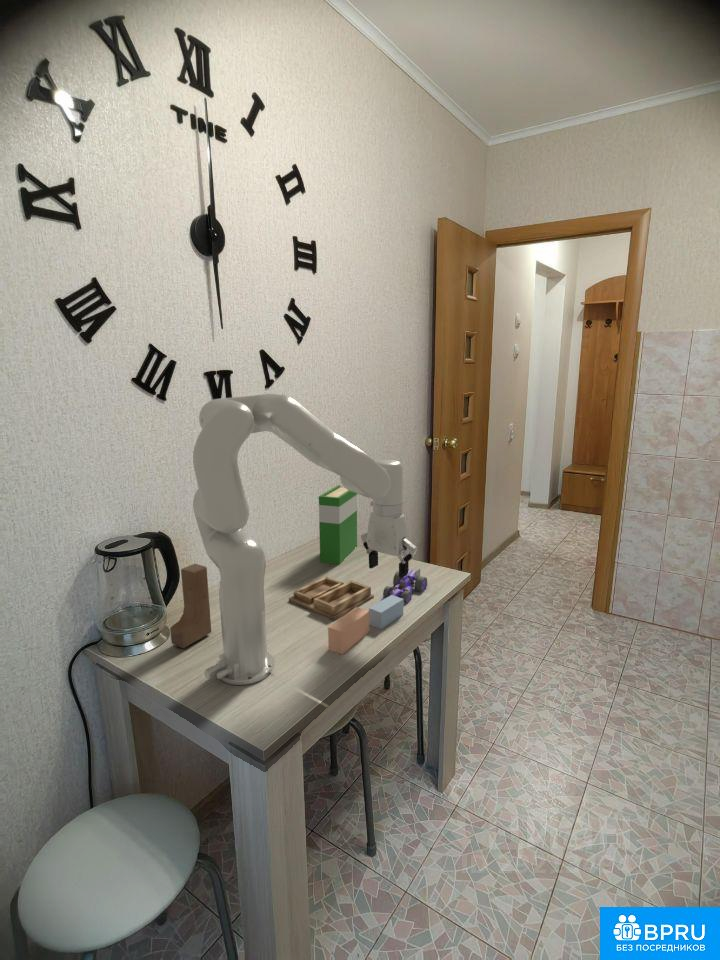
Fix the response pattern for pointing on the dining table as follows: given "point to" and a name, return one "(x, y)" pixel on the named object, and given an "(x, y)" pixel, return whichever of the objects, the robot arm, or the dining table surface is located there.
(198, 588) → the wooden block
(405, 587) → the toy race car
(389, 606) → the light blue block
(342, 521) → the hardback book
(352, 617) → the salmon orange rectangular block
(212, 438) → the robot arm
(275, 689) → the dining table surface
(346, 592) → the jig
